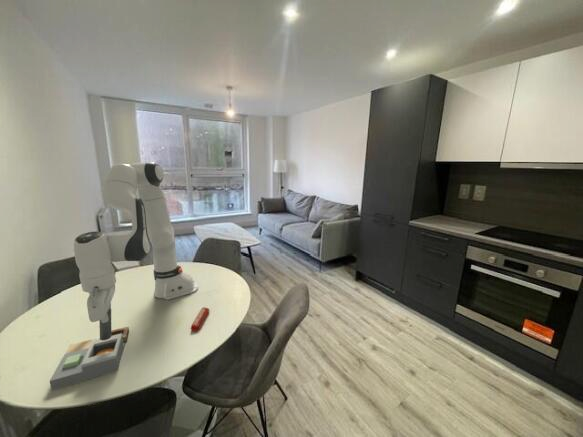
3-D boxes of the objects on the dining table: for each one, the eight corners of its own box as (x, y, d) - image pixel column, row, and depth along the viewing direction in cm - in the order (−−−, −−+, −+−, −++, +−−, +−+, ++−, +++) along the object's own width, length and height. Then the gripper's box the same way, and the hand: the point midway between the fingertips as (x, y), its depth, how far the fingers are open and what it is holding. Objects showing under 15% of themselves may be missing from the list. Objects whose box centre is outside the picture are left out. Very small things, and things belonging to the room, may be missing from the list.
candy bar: (198, 333, 100) (197, 326, 99) (189, 333, 99) (188, 326, 99) (210, 310, 115) (210, 305, 115) (202, 310, 115) (202, 305, 114)
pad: (96, 340, 94) (96, 338, 94) (90, 354, 87) (90, 352, 87) (70, 346, 91) (70, 344, 90) (62, 361, 84) (61, 359, 83)
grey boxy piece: (124, 346, 91) (122, 333, 90) (118, 370, 80) (115, 355, 79) (66, 362, 83) (63, 347, 82) (51, 390, 73) (47, 374, 72)
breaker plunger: (116, 353, 87) (115, 346, 86) (113, 363, 82) (112, 356, 82) (98, 357, 85) (97, 350, 84) (94, 368, 80) (93, 361, 80)
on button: (82, 360, 82) (81, 353, 81) (79, 368, 79) (77, 360, 78) (69, 364, 80) (67, 356, 80) (65, 372, 77) (63, 364, 77)
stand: (129, 331, 99) (128, 326, 99) (126, 342, 93) (125, 336, 93) (109, 336, 96) (108, 331, 96) (105, 347, 90) (104, 342, 90)
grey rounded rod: (112, 333, 84) (112, 307, 82) (110, 339, 81) (110, 312, 80) (101, 335, 82) (100, 309, 81) (98, 341, 80) (98, 314, 78)
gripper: (104, 292, 70) (112, 332, 73) (115, 267, 88) (122, 300, 91) (77, 298, 67) (87, 339, 70) (94, 271, 85) (101, 305, 88)
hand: (106, 317), depth 81 cm, fingers closed on grey rounded rod, 3 cm apart
